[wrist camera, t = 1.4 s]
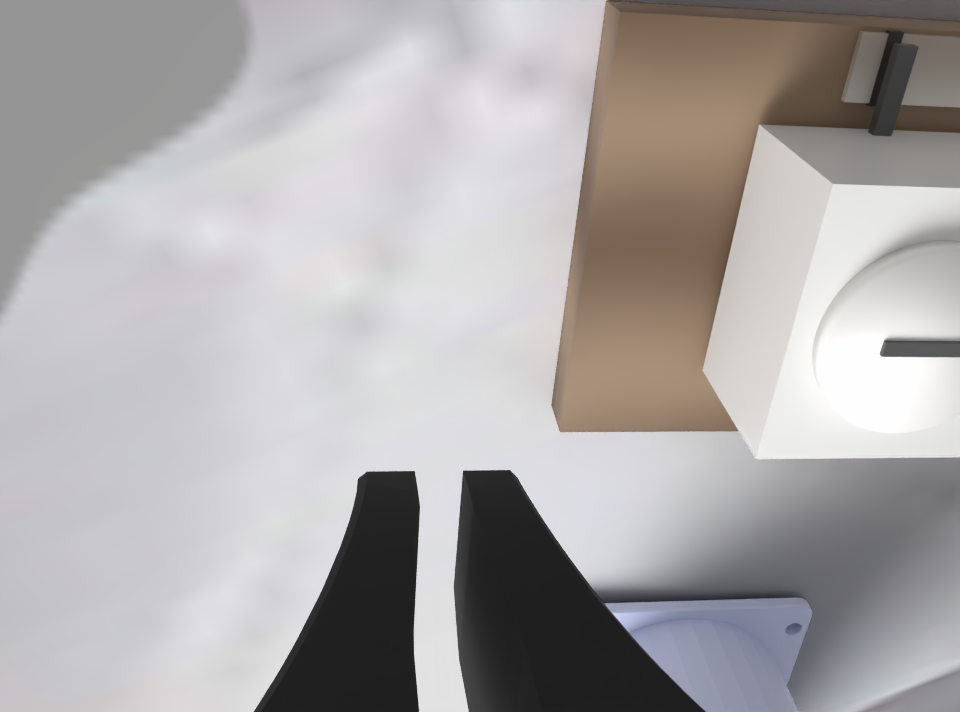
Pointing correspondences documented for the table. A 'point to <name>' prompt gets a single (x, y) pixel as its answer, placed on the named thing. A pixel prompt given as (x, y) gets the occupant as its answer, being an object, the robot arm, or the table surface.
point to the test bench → (703, 183)
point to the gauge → (845, 290)
